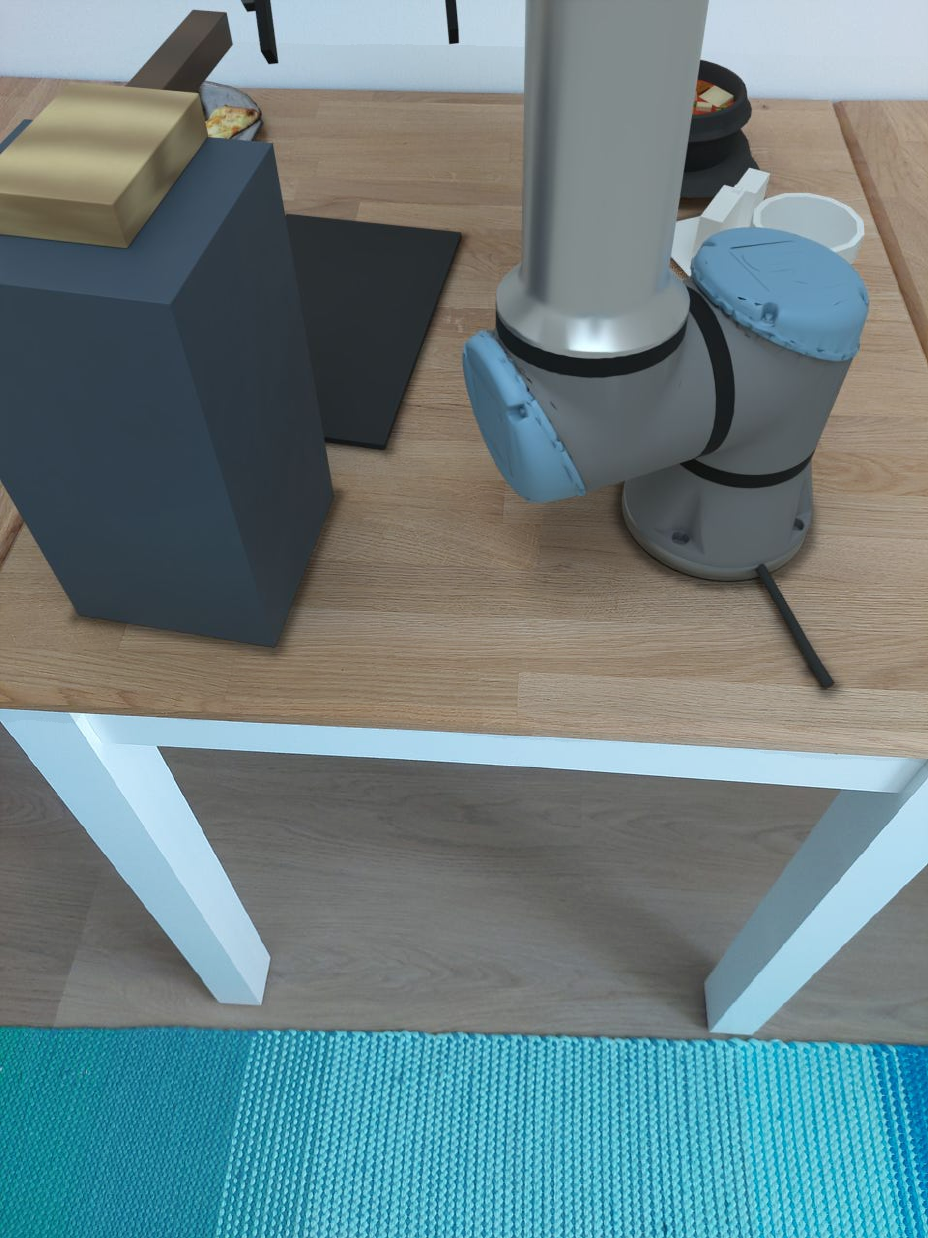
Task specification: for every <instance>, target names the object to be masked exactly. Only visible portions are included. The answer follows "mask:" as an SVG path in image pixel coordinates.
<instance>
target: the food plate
mask: <svg viewBox="0 0 928 1238" xmlns="http://www.w3.org/2000/svg"><path fill="white" fill-rule="evenodd" d="M196 93H199V96H200V101H201V105H202V110H203V114H204V118H205V123H206V127H207V132H208V137H215V138H226V139H236V140H246V141H255V139H256V138H257V136H258V134H259V133H260V131H261V129H262V127H263V125H264V121H263V118H262V117H263V114H262V110H261V107H259V106H258V104H257V102H256V101H254V100H253V99H252V97H250V95H249V94H248V93H245V92H244V91H242V90H240V89H238V88H236V87H234V86H231V85H227V84H222V83H218V82H213V81H212V80H211V81H209V80H205V81H204V82H203V84H202V85H201V86H200V87H199V89H198V90H197V91H196Z"/></svg>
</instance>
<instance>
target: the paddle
mask: <svg viewBox="0 0 928 1238" xmlns="http://www.w3.org/2000/svg"><path fill="white" fill-rule="evenodd" d="M233 46H234V43H233V38H232V33H231V28H230V23H229V17H228V12H226V11H216V10H215V11H214V10H203V9H202V10H201V9H191V11H190V12H189V13H188V15H186V17H184V18H183V20H182V21H181V22H180V23H179V24H178V25H177V26H176V28H175V29H174V30H173V31H172V32H171V34H170V35H169V36H168V37H167V38H166V39H165V40H164V41H163V42H162V44H161V45H160V46H159V47H158V48H157V50H155V52H154V53H153V54H152V55H151V56H150V58H148V60H147V61H146V62H145V63H144V64H143V65H142V67H140V69H138V71H137V72H136V73H135V74H134V75H133V77H132V78H131V79H130V80H129V81H128V82H127V83H126V85H113V84H101V83H91V82H79V81H78V82H77V81H69V82H68V84H67V85H66V86H65V87H64V88H63V89H62V90H61V91H60V92H59V93H58V94H57V95H56V96H55V97H54V98H53V99H52V101H50V103H48V104H47V105H46V106H45V108H43V110H41V112H40V113H39V114H38V115H37V116H36V117H34V119H32V120H33V121H32V122H31V123H30V124H29V125H28V126H27V127H26V129H25V130H24V131H23V132H22V133H21V134H20V135H19V136H18V137H17V138H16V139H15V140H14V141H13V142H12V143H11V144H10V145H9V146H8V147H7V148H6V149H5V150H4V151H3V152H2V153H1V154H0V234H1V235H10V236H19V237H28V238H36V239H45V240H54V241H63V242H72V243H80V244H89V245H98V246H107V247H116V248H124V249H126V248H128V247H129V245H130V244H131V243H132V241H133V240H134V238H135V237H136V236H137V234H138V233H139V231H140V230H141V229H142V227H143V226H144V225H145V223H146V222H147V220H148V219H149V218H150V216H151V215H152V214H153V212H154V211H155V209H156V208H157V207H158V205H159V204H160V202H161V201H162V200H163V198H164V197H165V196H166V194H167V193H168V191H169V190H170V189H171V187H172V186H173V185H174V183H175V182H176V180H177V179H178V178H179V176H180V175H181V173H182V172H183V171H184V169H185V168H186V167H187V165H188V164H189V162H190V161H191V160H192V158H193V157H194V155H195V154H196V153H197V151H198V150H199V149H200V147H201V146H202V144H203V143H204V142H205V140H206V139H207V138H208V132H207V127H206V123H205V118H204V114H203V110H202V105H201V101H200V96H199V93H196V91H197V90H198V89H199V87H200V86H201V85H202V84H203V82H204V81H207V79H208V78H209V76H210V75H211V74H212V72H213V71H214V70H215V68H216V67H217V66H218V65H219V64H220V62H221V61H222V59H223V58H224V57H225V56H226V54H227V53H228V52H229V51H230V50H231V48H232V47H233Z"/></svg>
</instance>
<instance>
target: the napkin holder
mask: <svg viewBox="0 0 928 1238" xmlns="http://www.w3.org/2000/svg"><path fill="white" fill-rule="evenodd" d="M770 177H771V173H770V172H766V171H763V170H760V171H759V170H756V169H752V168H749V169H748V170H747V172H746V173H745V174H744V176H743V177H742V178H741V180H740V181H739V182H738V184H737V185H735V186H734V187H730V186H726V185H724V186H723V187H722V188H721V190H720V191H719V192H718V194H717V195H716V196H715V197H713V198H712V200H711V202H710V203H708V206H706V208H705V209H704V210H703V212H702V213H701V215H698V216H694V217H691V218H690V217H689V218H686V219H681V220H678V221H677V220H676V226H675V233H674V240H673V246H672V253H671V259H672V260H673V261H674V262H675V263H676V264H677V265H678V266H679V267H680V268H681V269H682V270H683V272H684V273H685V274H686V275H687V276H688V278H689V277H690V276H691V269H690V266H691V260H692V258H693V257H694V256H695V255H696V254H697V252H698V250H699V249H700V247H701V245H702V243H703V242H704V241H705V240H706V239H708V238H709V237H710V236H712V235H714V234H716V233H718V232H721V231H724V230H728V229H733V228H741V227H749V226H750V222H751V219H752V215H753V211H754V209H755V208H756V207H757V206H758V205H759V204H760V203H761V202H762V201H764V200H765V195H766V191H767V188H768V185H769V181H770Z"/></svg>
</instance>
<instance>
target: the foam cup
mask: <svg viewBox="0 0 928 1238" xmlns="http://www.w3.org/2000/svg"><path fill="white" fill-rule="evenodd" d="M864 223H865V222H864V220H863V218H861V217H860V215H859V214H858V213H857V212H856V211H855V210H854V209H853V208H852V207H850V206H849V205H846V204H845V203H842V202H841V201H839V200H836V199H834V198H833V197H829V196H824V195H820V194H816V193H809V192H786V193H785V192H784V193H781V194H777V195H773V196H771V197H768V198H764V200H763V201H762V202H761V203H760V204H759V205H758V206H757V207H756V208H755V209H754V211H753V215H752V219H751V222H750V226H749V227H761V228H770V229H776V230H781V231H786V232H789V233H793V234H796V235H798V236H801V237H805V238H807V239H810V240H812V241H815V242H817V243H819V244H821V245H823V246H825V247H827V248H829V249H830V250H832V251H834V252H835V253H837V254H838V255H839V256H841V257H842V258H843V259H844V260H846V261H847V262H848V263H849V264H850V265H851V266H852V264H853V263H854V262H855V260H856V259H857V257H858V253H859V251H860V248H861V245H862V243H863V240H864V237H865V225H864Z"/></svg>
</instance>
